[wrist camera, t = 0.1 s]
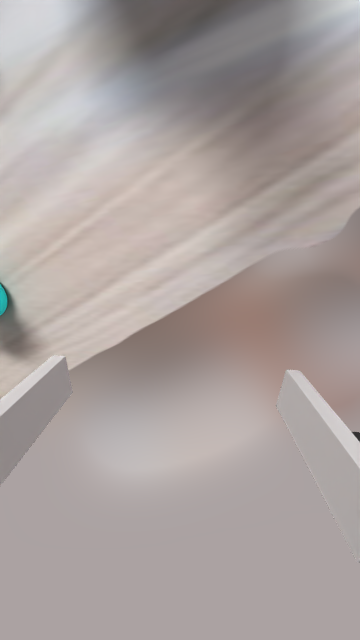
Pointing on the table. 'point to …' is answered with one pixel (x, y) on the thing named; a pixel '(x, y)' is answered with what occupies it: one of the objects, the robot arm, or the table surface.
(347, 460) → the robot arm
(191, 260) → the table surface
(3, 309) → the donuts
